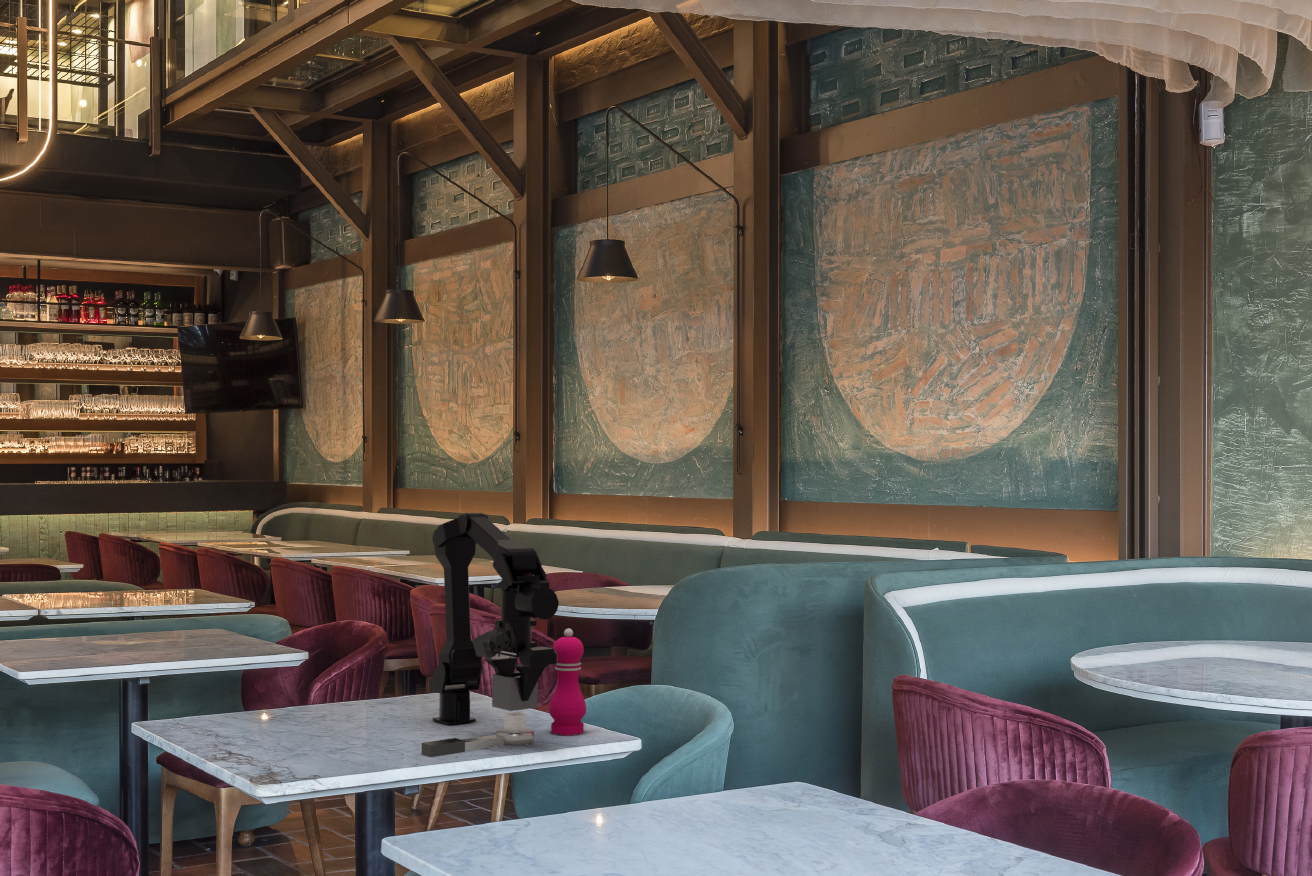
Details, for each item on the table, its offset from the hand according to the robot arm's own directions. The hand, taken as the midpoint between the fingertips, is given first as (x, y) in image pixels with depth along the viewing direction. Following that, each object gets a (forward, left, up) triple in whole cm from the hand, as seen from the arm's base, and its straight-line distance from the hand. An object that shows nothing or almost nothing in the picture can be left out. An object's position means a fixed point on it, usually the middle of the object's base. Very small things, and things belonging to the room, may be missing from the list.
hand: (515, 698), depth 237 cm
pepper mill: (-1, +13, -8) cm, 15 cm away
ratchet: (0, -8, -8) cm, 11 cm away
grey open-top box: (0, 0, -2) cm, 2 cm away
